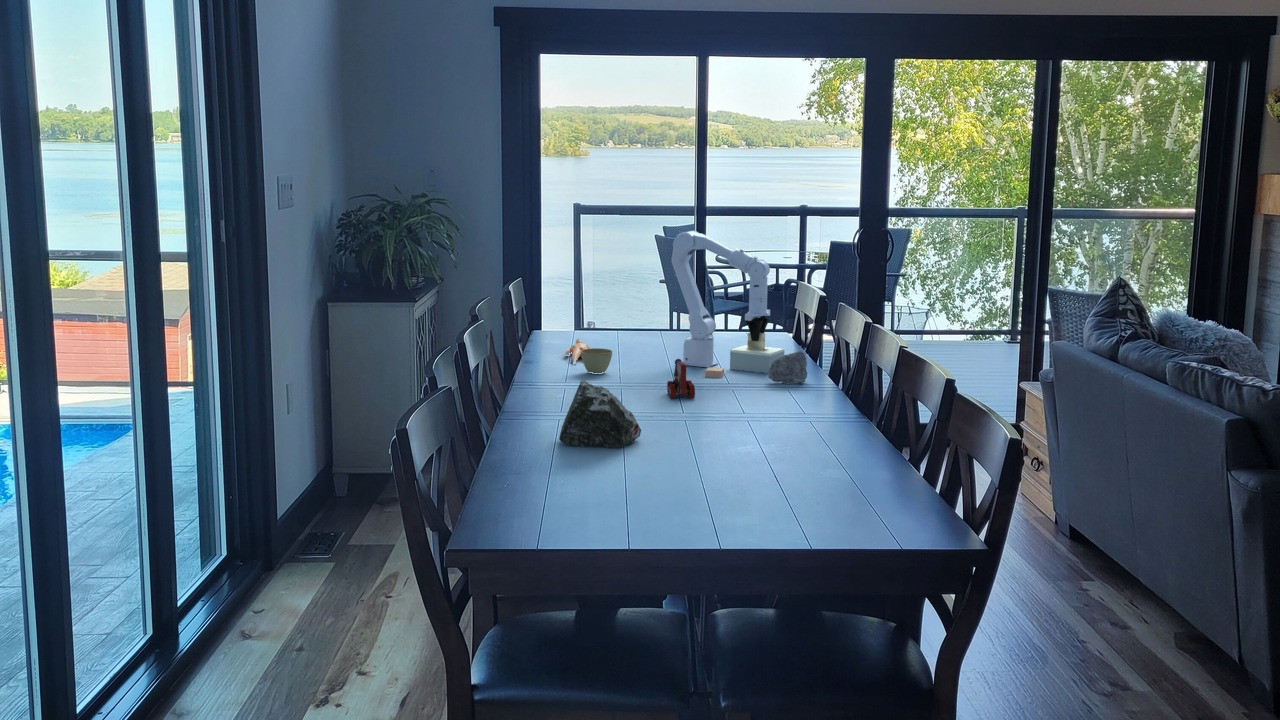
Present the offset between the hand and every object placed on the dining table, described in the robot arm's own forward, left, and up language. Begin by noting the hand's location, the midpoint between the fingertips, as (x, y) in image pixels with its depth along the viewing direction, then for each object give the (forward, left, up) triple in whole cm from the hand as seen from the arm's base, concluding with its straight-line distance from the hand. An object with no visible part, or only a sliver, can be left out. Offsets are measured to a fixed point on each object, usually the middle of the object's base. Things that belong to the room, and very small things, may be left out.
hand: (757, 340), depth 349 cm
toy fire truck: (0, -49, -10) cm, 50 cm away
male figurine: (-59, -15, -10) cm, 61 cm away
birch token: (0, 0, -3) cm, 3 cm away
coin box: (0, +1, -9) cm, 9 cm away
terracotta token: (-6, -17, -10) cm, 21 cm away
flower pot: (-39, -34, -10) cm, 53 cm away
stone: (+9, -107, -10) cm, 108 cm away
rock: (+18, -15, -10) cm, 26 cm away
